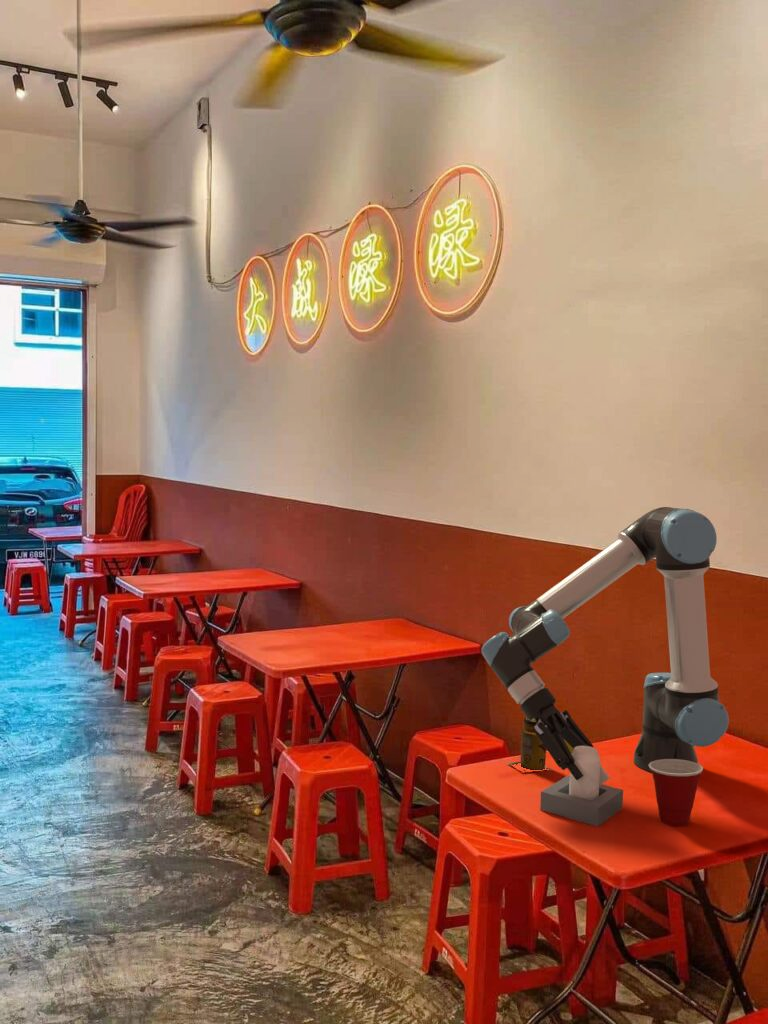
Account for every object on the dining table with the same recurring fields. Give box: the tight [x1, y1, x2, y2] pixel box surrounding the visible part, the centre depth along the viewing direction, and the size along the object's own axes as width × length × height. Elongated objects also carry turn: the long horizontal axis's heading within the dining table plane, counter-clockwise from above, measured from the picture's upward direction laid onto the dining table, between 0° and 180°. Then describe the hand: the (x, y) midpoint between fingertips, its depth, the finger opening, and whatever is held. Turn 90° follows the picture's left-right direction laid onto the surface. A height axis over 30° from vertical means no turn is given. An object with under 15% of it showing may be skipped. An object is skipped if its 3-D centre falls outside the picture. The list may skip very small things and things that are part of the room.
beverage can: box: [569, 746, 601, 801], centre depth 187 cm, size 6×6×12 cm
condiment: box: [506, 716, 553, 771], centre depth 213 cm, size 7×8×12 cm
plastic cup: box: [649, 759, 704, 827], centre depth 182 cm, size 11×11×12 cm
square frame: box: [539, 775, 624, 828], centre depth 187 cm, size 13×13×4 cm
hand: (598, 786), depth 185 cm, fingers closed on beverage can, 6 cm apart
